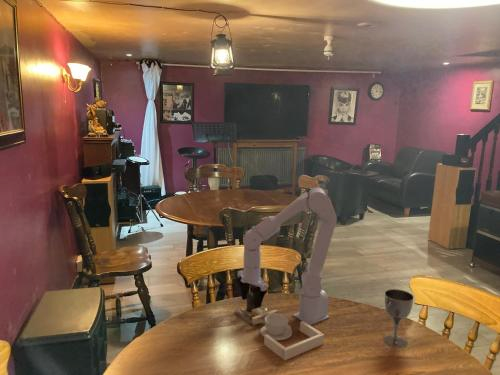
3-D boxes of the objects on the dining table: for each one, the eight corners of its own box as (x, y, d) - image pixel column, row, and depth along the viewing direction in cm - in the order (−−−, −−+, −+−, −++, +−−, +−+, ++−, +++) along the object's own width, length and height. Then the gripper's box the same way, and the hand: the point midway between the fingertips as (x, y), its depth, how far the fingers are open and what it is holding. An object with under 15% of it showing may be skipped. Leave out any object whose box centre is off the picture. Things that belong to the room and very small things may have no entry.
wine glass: (385, 331, 128) (389, 286, 125) (411, 339, 123) (416, 293, 121) (377, 342, 121) (381, 295, 119) (405, 351, 117) (409, 303, 114)
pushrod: (257, 306, 143) (258, 288, 142) (278, 319, 133) (278, 300, 132) (234, 313, 137) (234, 294, 136) (253, 328, 128) (254, 308, 127)
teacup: (254, 335, 125) (254, 321, 124) (270, 321, 133) (270, 308, 132) (282, 345, 119) (282, 331, 118) (297, 330, 127) (298, 317, 127)
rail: (253, 306, 143) (253, 303, 143) (272, 319, 134) (272, 316, 134) (235, 312, 139) (235, 309, 138) (253, 325, 130) (253, 322, 130)
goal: (302, 329, 128) (302, 321, 127) (323, 343, 120) (324, 334, 120) (264, 344, 119) (264, 335, 119) (284, 360, 112) (285, 350, 111)
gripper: (230, 261, 138) (230, 297, 140) (254, 274, 126) (254, 314, 129) (247, 257, 142) (246, 293, 144) (272, 270, 130) (271, 309, 133)
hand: (251, 303), depth 137 cm, fingers open, 7 cm apart
